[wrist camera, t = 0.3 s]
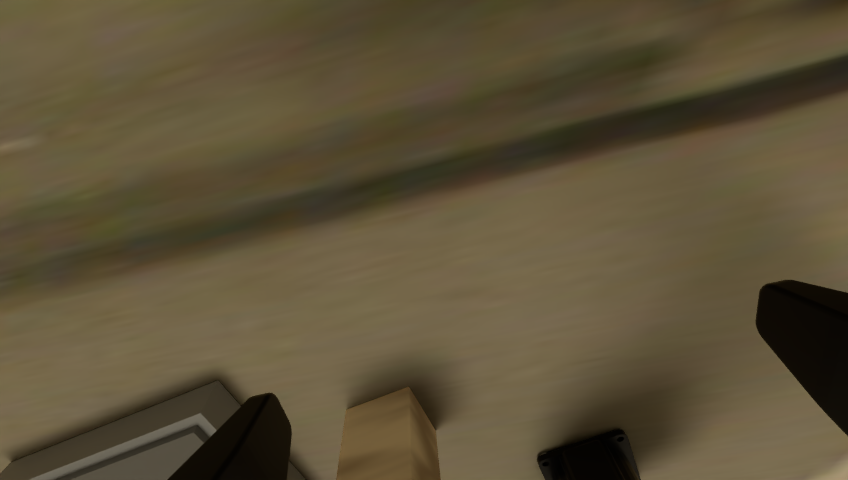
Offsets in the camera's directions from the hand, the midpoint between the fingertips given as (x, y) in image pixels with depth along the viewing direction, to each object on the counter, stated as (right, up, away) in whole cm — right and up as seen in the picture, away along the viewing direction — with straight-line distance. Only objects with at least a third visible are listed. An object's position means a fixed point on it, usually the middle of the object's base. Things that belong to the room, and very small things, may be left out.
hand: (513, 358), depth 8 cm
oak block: (-4, -10, +20) cm, 23 cm away
